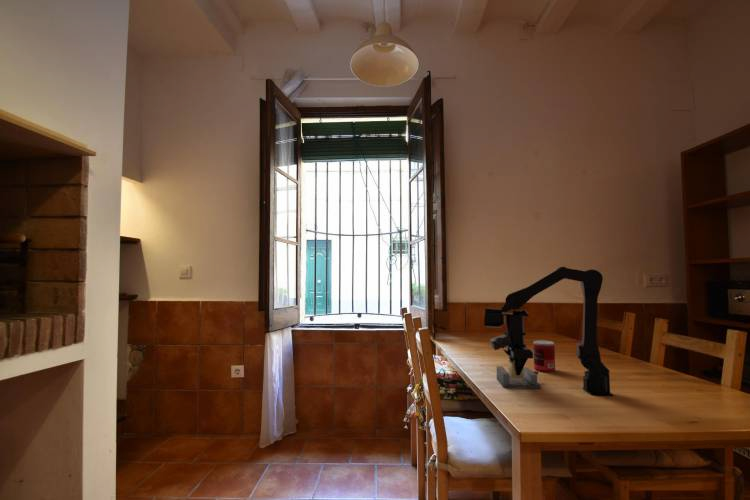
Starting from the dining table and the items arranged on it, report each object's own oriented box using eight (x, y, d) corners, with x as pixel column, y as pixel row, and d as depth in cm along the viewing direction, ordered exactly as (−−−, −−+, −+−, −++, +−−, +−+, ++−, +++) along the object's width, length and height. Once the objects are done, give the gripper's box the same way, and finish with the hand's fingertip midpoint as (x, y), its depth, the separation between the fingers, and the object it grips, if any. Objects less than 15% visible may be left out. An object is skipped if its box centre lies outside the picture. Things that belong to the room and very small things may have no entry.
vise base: (530, 380, 131) (530, 367, 131) (540, 388, 121) (540, 374, 121) (496, 379, 132) (496, 366, 132) (503, 387, 122) (503, 373, 122)
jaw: (536, 376, 131) (536, 367, 131) (546, 384, 121) (546, 375, 121) (522, 375, 131) (521, 367, 131) (531, 383, 121) (530, 374, 121)
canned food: (556, 369, 146) (555, 341, 147) (554, 373, 139) (553, 344, 140) (535, 366, 150) (535, 339, 151) (532, 370, 143) (531, 342, 144)
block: (520, 375, 128) (520, 360, 129) (523, 378, 124) (523, 363, 125) (508, 374, 129) (508, 360, 129) (511, 377, 125) (511, 363, 125)
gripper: (486, 324, 138) (487, 366, 137) (497, 332, 119) (498, 380, 118) (516, 324, 137) (517, 366, 136) (532, 332, 118) (534, 381, 117)
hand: (516, 373), depth 127 cm, fingers closed on block, 4 cm apart
